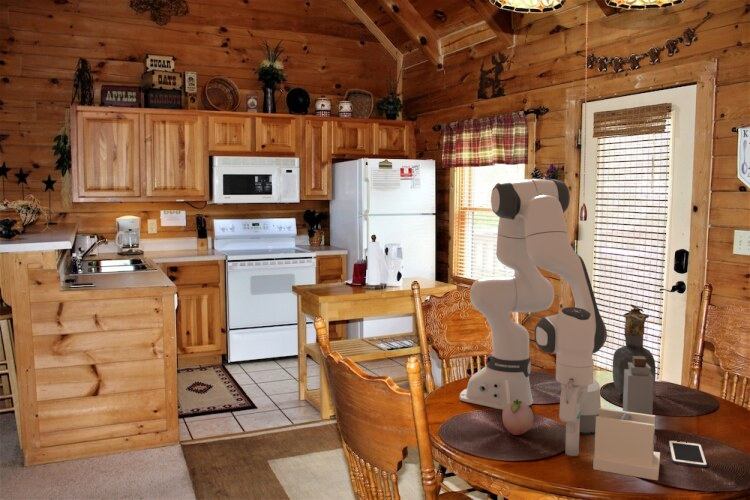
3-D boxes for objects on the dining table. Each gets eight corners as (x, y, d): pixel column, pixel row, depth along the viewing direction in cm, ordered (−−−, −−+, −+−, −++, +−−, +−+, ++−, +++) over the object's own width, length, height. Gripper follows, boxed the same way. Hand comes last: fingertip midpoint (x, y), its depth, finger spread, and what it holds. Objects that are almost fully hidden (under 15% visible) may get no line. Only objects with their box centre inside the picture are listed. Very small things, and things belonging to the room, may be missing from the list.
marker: (563, 454, 163) (565, 411, 162) (566, 449, 167) (567, 407, 166) (577, 457, 162) (579, 413, 161) (579, 452, 165) (581, 409, 164)
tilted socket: (593, 469, 155) (595, 418, 154) (598, 452, 165) (600, 404, 164) (657, 480, 149) (660, 427, 148) (659, 462, 159) (661, 412, 158)
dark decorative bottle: (619, 406, 200) (623, 309, 197) (607, 388, 219) (610, 298, 216) (657, 408, 199) (661, 310, 196) (641, 389, 217) (645, 299, 215)
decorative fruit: (534, 443, 171) (535, 405, 170) (502, 441, 172) (502, 403, 171) (532, 430, 180) (533, 394, 179) (501, 428, 181) (502, 393, 180)
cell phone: (700, 447, 170) (700, 443, 170) (707, 469, 156) (708, 465, 156) (668, 443, 172) (668, 439, 172) (672, 464, 159) (672, 460, 158)
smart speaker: (568, 435, 176) (570, 384, 175) (560, 423, 185) (562, 375, 184) (604, 436, 176) (606, 385, 174) (594, 424, 185) (596, 375, 184)
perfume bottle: (651, 423, 185) (654, 361, 184) (626, 422, 187) (629, 359, 185) (647, 415, 192) (649, 355, 190) (622, 414, 193) (624, 354, 192)
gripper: (581, 387, 152) (579, 445, 153) (592, 366, 170) (591, 418, 171) (553, 383, 154) (552, 440, 156) (567, 363, 173) (566, 414, 174)
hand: (572, 428), depth 164 cm, fingers open, 4 cm apart
